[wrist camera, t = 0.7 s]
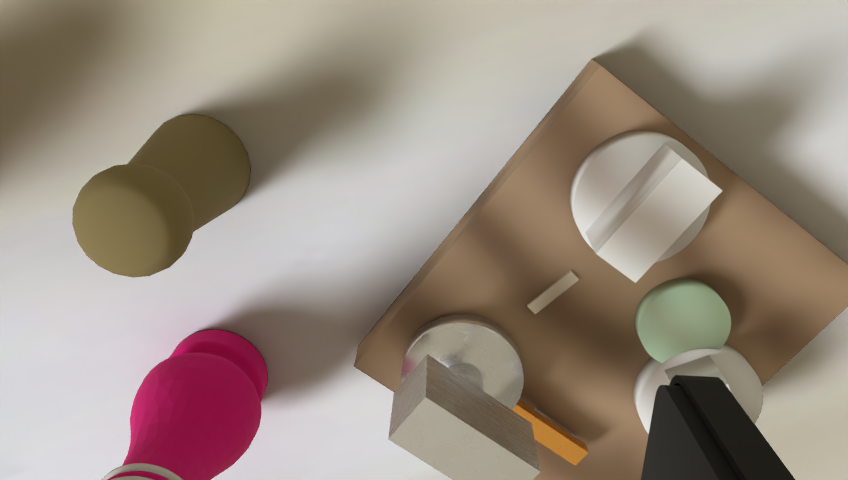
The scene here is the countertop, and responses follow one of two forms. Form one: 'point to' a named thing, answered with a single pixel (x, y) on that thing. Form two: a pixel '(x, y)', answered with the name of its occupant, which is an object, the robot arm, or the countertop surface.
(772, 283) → the plate
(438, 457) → the knob
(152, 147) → the cork
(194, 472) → the pepper mill
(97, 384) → the countertop surface
